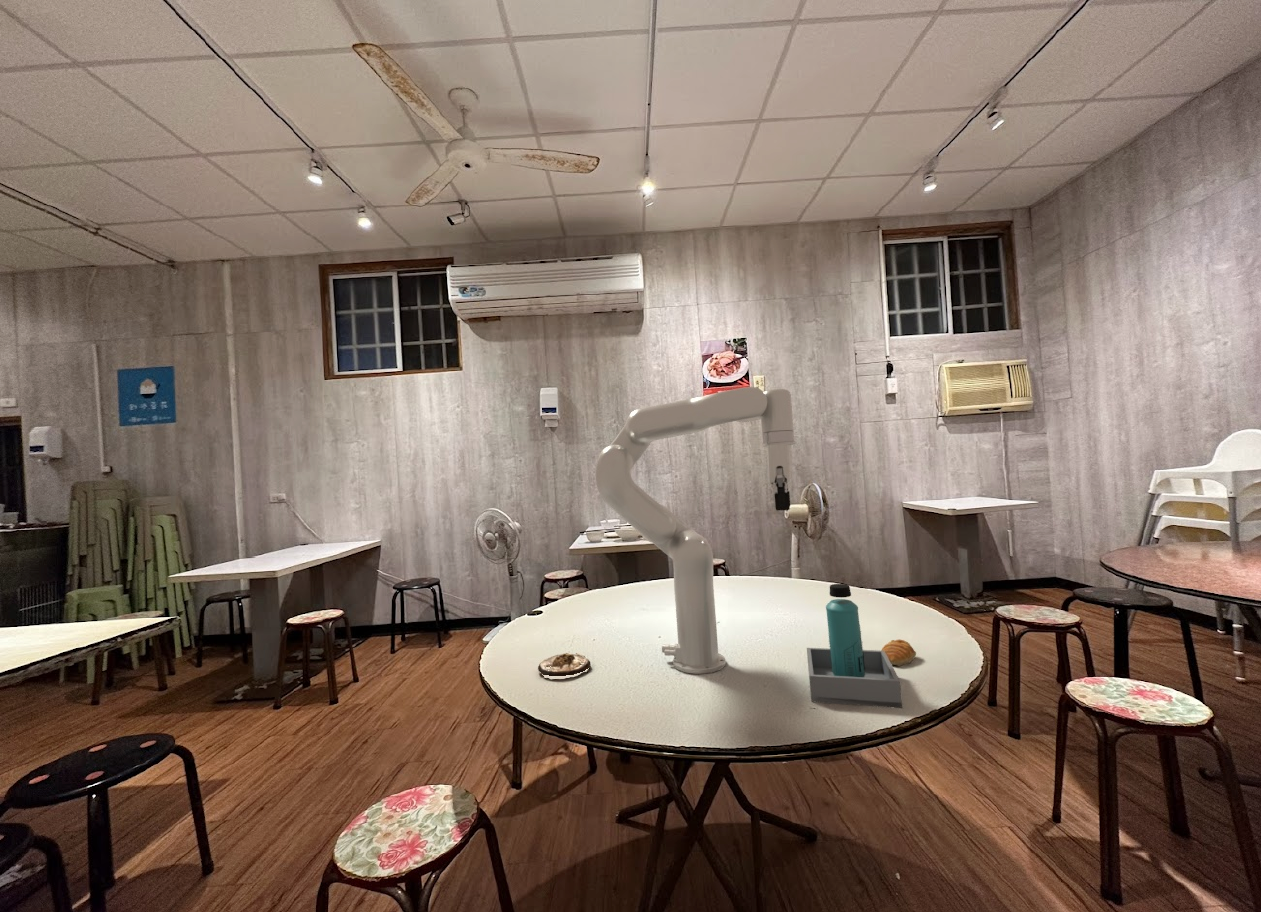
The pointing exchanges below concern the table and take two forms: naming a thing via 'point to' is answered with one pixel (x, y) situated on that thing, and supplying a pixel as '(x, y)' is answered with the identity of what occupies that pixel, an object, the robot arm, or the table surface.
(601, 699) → the table surface
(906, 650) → the pastry
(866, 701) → the bin
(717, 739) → the table surface
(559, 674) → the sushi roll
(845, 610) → the beverage bottle
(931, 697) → the table surface
